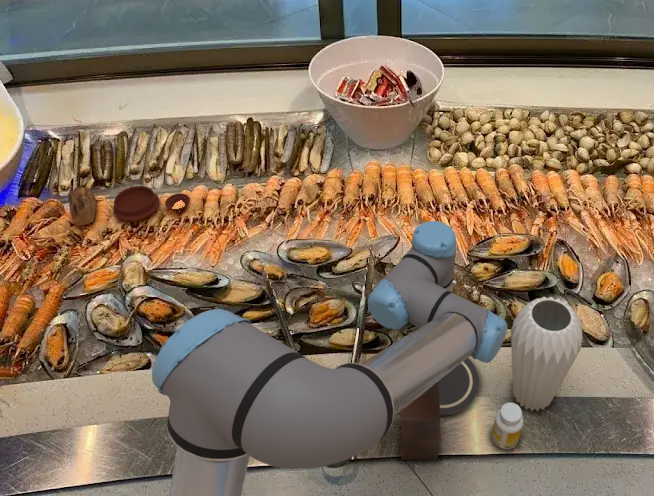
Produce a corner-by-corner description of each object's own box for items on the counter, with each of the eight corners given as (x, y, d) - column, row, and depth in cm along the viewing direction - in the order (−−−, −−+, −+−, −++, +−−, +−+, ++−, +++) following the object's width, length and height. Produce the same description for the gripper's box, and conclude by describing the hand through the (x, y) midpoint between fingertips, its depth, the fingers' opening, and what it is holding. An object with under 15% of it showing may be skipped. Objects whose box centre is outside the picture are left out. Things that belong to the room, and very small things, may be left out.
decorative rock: (99, 229, 172) (85, 198, 164) (74, 234, 170) (59, 203, 163) (100, 199, 180) (87, 169, 173) (76, 204, 178) (62, 173, 171)
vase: (526, 355, 145) (544, 275, 127) (577, 394, 138) (603, 315, 120) (487, 393, 138) (499, 314, 120) (538, 436, 131) (559, 359, 113)
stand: (401, 460, 127) (400, 419, 117) (401, 426, 132) (400, 384, 122) (437, 459, 127) (440, 419, 117) (436, 426, 132) (439, 384, 122)
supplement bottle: (488, 444, 130) (492, 418, 123) (496, 420, 133) (501, 395, 127) (514, 454, 128) (520, 429, 122) (522, 430, 132) (528, 404, 125)
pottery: (122, 196, 181) (117, 184, 178) (196, 195, 182) (193, 182, 179) (109, 226, 172) (104, 214, 169) (187, 224, 173) (183, 212, 170)
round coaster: (422, 428, 132) (422, 425, 131) (391, 365, 142) (390, 363, 142) (492, 398, 137) (493, 396, 136) (457, 340, 147) (457, 337, 147)
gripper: (450, 330, 116) (444, 401, 132) (454, 258, 128) (449, 331, 144) (407, 327, 116) (407, 398, 132) (416, 255, 129) (415, 328, 145)
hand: (429, 363), depth 138 cm, fingers closed on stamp, 4 cm apart
